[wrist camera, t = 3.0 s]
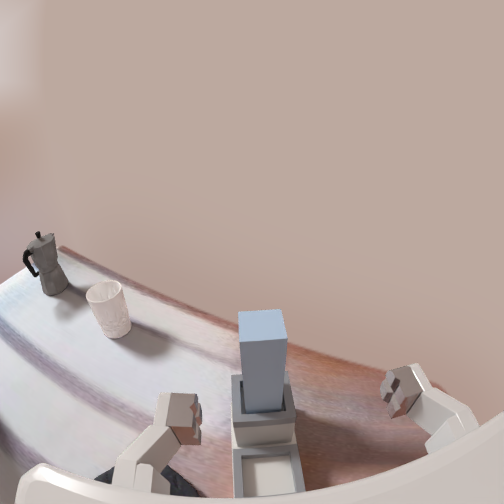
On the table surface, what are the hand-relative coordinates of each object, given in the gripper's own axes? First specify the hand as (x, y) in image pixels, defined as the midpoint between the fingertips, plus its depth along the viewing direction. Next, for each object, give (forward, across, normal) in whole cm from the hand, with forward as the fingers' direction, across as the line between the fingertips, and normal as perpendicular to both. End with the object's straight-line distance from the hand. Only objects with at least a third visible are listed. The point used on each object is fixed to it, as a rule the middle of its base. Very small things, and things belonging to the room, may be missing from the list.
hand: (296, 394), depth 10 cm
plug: (+12, 0, -20) cm, 23 cm away
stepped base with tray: (+8, 0, -28) cm, 29 cm away
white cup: (+36, -30, -28) cm, 54 cm away
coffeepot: (+51, -58, -28) cm, 82 cm away
